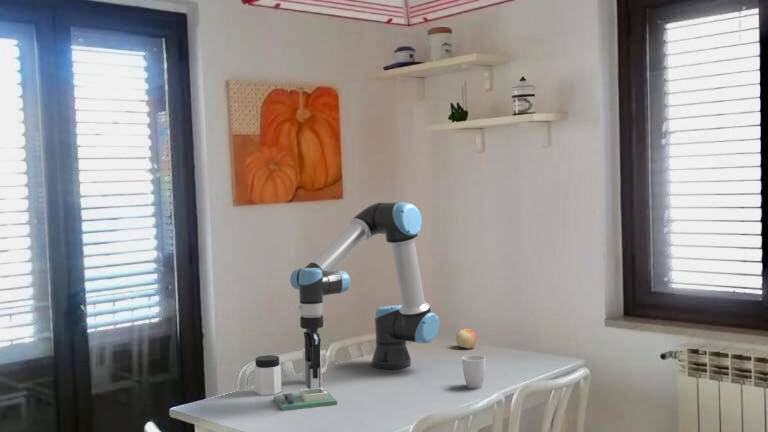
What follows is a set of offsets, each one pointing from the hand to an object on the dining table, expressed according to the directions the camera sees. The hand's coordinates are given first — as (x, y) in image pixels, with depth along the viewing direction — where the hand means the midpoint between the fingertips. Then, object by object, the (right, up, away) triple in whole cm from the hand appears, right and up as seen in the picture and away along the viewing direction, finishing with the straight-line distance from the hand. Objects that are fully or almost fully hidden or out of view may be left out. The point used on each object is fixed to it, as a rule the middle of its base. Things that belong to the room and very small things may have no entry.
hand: (313, 385), depth 268 cm
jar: (-17, -5, +13) cm, 21 cm away
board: (-3, -5, -1) cm, 6 cm away
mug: (-1, -4, +26) cm, 27 cm away
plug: (0, 0, 0) cm, 0 cm away
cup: (+55, -3, +14) cm, 56 cm away
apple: (+58, 0, +76) cm, 96 cm away
